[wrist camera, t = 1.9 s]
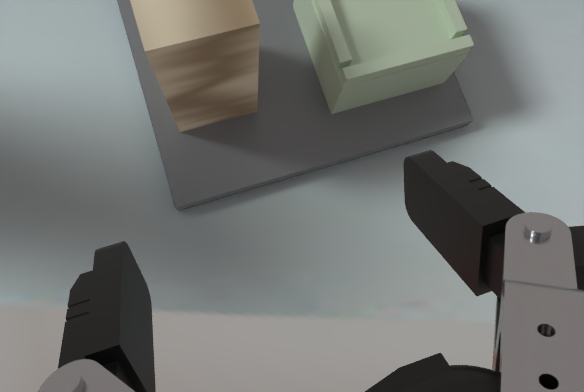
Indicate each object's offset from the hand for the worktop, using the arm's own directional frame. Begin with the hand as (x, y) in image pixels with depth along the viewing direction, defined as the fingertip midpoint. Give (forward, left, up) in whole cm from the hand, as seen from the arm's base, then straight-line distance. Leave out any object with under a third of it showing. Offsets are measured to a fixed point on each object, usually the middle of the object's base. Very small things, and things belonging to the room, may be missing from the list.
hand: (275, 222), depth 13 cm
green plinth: (+11, +12, -15) cm, 22 cm away
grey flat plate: (+6, +14, -16) cm, 22 cm away
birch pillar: (0, +12, -15) cm, 19 cm away
